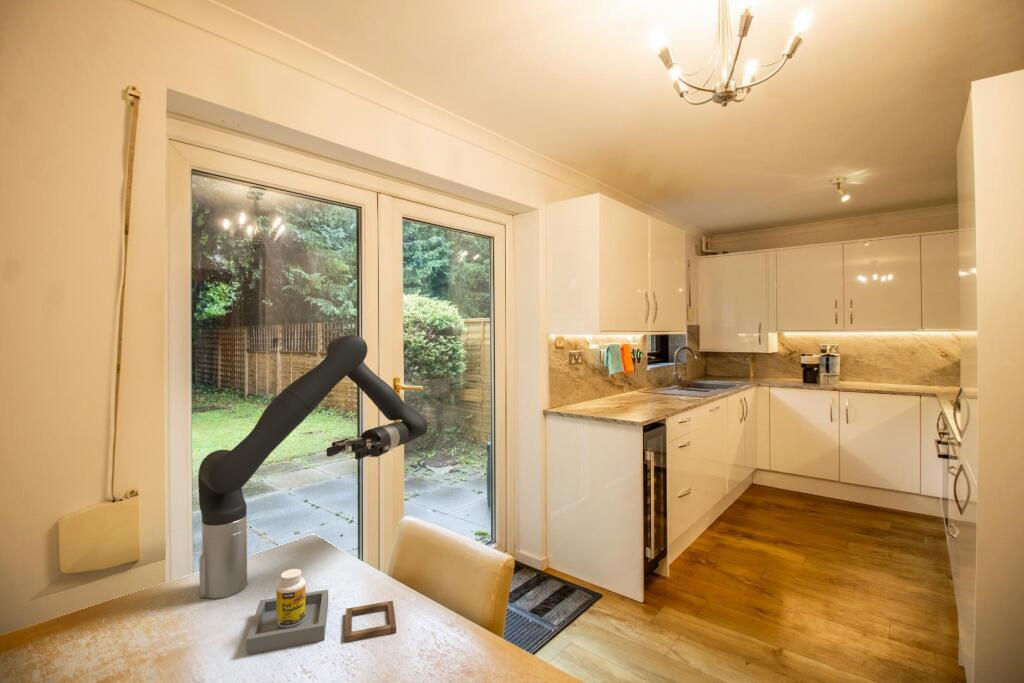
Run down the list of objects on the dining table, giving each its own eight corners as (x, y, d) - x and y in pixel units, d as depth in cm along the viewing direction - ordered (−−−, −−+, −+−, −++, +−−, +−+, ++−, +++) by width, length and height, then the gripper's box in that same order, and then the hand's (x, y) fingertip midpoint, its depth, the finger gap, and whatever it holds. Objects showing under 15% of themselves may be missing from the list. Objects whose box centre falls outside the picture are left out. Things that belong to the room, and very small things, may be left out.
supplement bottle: (278, 632, 96) (278, 582, 95) (274, 618, 100) (274, 571, 100) (307, 623, 99) (307, 575, 99) (302, 610, 103) (302, 564, 103)
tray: (246, 654, 90) (246, 639, 90) (260, 613, 104) (260, 600, 104) (324, 640, 95) (324, 625, 95) (328, 602, 108) (328, 589, 108)
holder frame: (345, 642, 94) (345, 636, 94) (346, 614, 104) (346, 608, 104) (396, 632, 97) (396, 626, 97) (392, 605, 107) (392, 600, 107)
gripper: (358, 425, 134) (318, 436, 119) (402, 428, 130) (366, 441, 114) (358, 451, 134) (318, 466, 119) (402, 455, 130) (366, 471, 114)
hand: (341, 454), depth 117 cm, fingers open, 8 cm apart
